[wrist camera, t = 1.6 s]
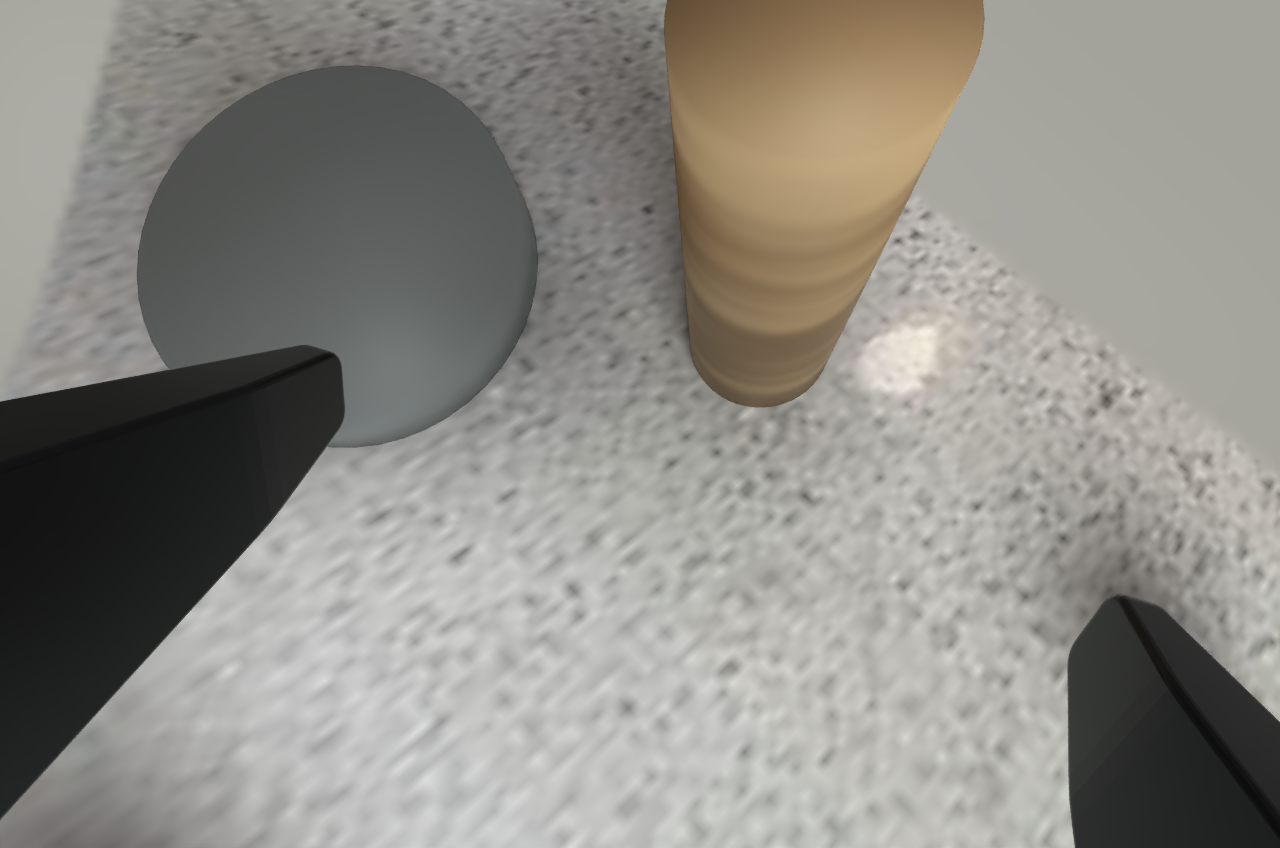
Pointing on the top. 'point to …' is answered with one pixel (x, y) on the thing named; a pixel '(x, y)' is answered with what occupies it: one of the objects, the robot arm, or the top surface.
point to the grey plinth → (345, 244)
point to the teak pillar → (799, 166)
